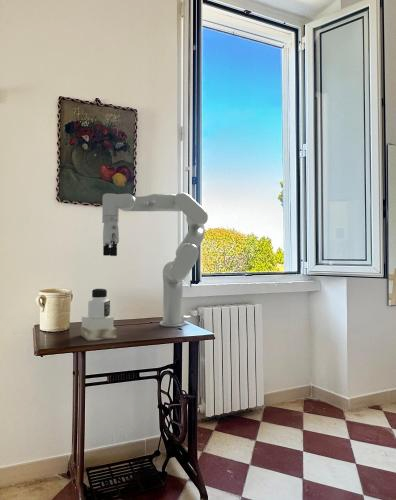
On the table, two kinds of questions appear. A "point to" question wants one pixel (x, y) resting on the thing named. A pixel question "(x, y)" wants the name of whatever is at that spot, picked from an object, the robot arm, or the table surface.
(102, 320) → the tower top block
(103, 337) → the tower base block
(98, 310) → the medicine bottle
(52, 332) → the table surface
